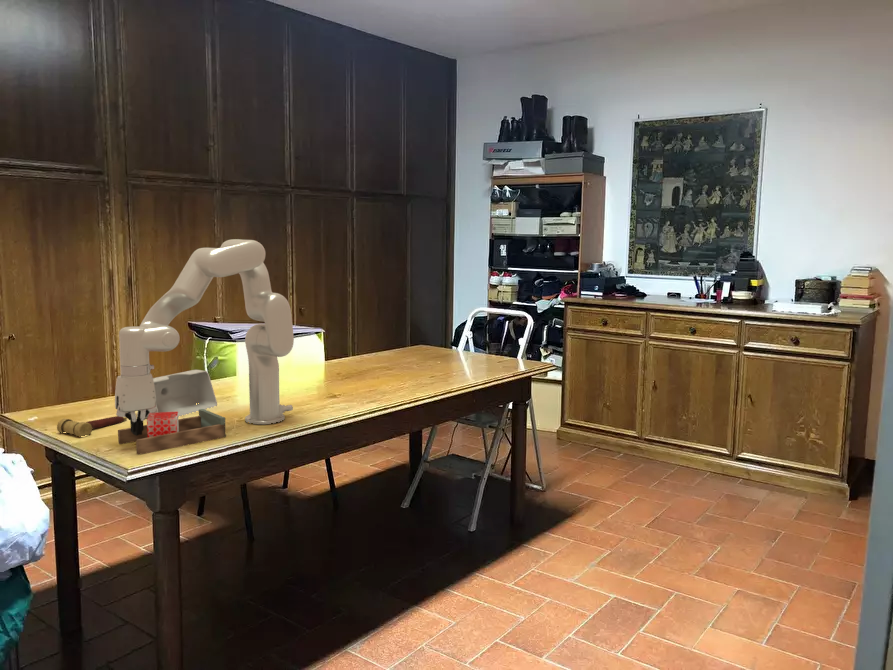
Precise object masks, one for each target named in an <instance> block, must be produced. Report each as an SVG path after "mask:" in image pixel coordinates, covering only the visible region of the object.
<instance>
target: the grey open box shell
mask: <svg viewBox="0 0 893 670" xmlns="http://www.w3.org/2000/svg"><path fill="white" fill-rule="evenodd" d="M153 381H154V386H155V393H156V406H155V407H156V411H154V412H152V413H160V412H178V418H179V416H180V417H183V416H186V414H187V415H190V414H189V413H191V414H193V413H192V412H194V413H197V412H196V411H198V412H199V409H205V410H208V409H207V408H209V409H212V408H215V407H214V406H216V407H217V405H218V401H217V397H216V395H215V390H214V388H213V387H214V386H213V384H212V380H211V377H210V374H209V372H208V371H207V370H201V369H191V370H187V371H182V372H177V373H172V374H167V375H162V376H157V377H153ZM196 403H197V405H196ZM198 403H199V404H198ZM211 407H212V408H211ZM182 415H183V416H182ZM148 416H149V414H148V415H147V416H146V417H145V419H147V418H148Z"/></svg>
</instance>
